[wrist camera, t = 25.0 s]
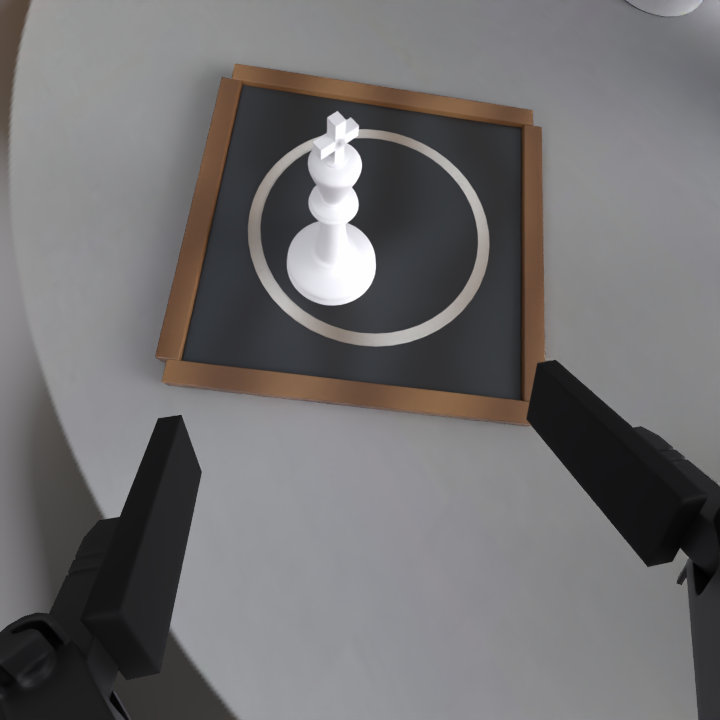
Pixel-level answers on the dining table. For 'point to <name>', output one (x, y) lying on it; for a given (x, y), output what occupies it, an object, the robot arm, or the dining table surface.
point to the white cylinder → (666, 6)
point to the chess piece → (332, 224)
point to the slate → (391, 247)
